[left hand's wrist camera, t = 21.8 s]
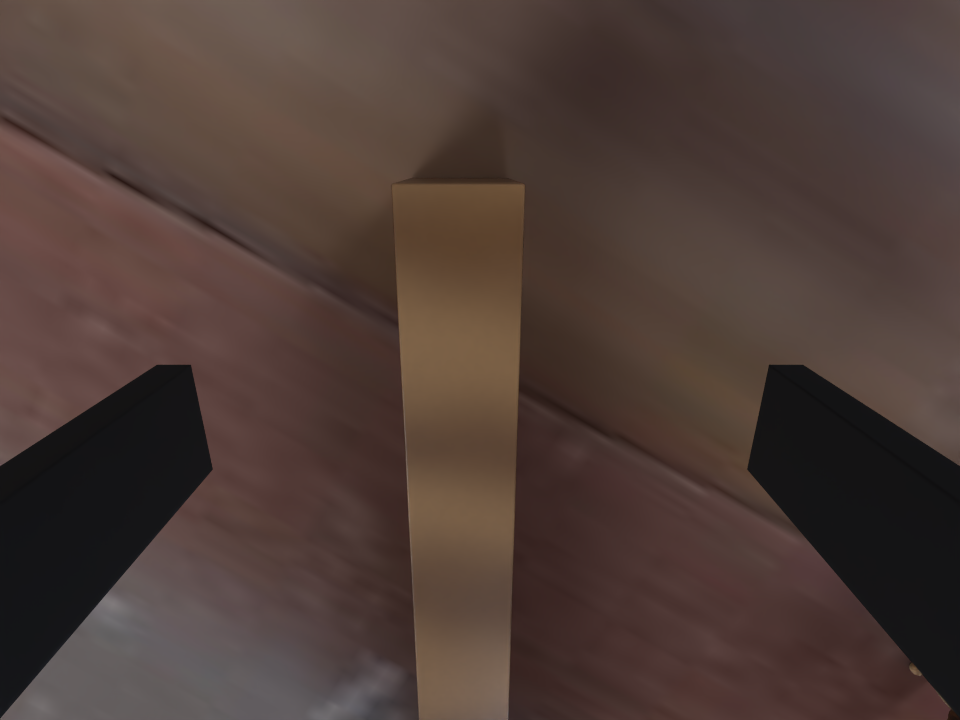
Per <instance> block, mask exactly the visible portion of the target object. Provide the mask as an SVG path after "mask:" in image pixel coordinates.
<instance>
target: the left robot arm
mask: <svg viewBox="0 0 960 720" xmlns="http://www.w3.org/2000/svg"><path fill="white" fill-rule="evenodd" d="M212 470H213V469H212V464H211V459H210V454H209V449H208V445H207V440H206V435H205V430H204V426H203V421H202V416H201V411H200V406H199V402H198V397H197V392H196V387H195V383H194V378H193V373H192V368H191V365H156V366H155V367H153V368H151V369H150V370H148V371H147V372H145V373H144V374H142V375H141V376H139V377H138V378H136V379H134V380H133V381H131V382H130V383H128V384H127V385H125V386H124V387H122V388H121V389H119V390H117V391H116V392H114V393H113V394H111V395H110V396H108V397H107V398H105V399H103V400H102V401H100V402H99V403H97V404H96V405H94V406H93V407H91V408H90V409H88V410H86V411H85V412H83V413H82V414H80V415H79V416H77V417H76V418H74V419H73V420H71V421H69V422H68V423H66V424H65V425H63V426H62V427H60V428H59V429H57V430H56V431H54V432H52V433H51V434H49V435H48V436H46V437H45V438H43V439H42V440H40V441H38V442H37V443H35V444H34V445H32V446H31V447H29V448H28V449H26V450H25V451H23V452H21V453H20V454H18V455H17V456H15V457H14V458H12V459H11V460H9V461H8V462H6V463H4V464H3V465H1V466H0V718H1V717H2V716H3V714H4V713H5V712H6V711H7V710H8V709H9V707H10V706H11V705H12V704H13V703H14V702H15V700H16V699H17V698H18V697H19V696H20V695H21V693H22V692H23V691H24V690H25V689H26V688H27V686H28V685H29V684H30V683H31V682H32V680H33V679H34V678H35V677H36V676H37V675H38V673H39V672H40V671H41V670H42V669H43V668H44V666H45V665H46V664H47V663H48V662H49V661H50V659H51V658H52V657H53V656H54V655H55V654H56V652H57V651H58V650H59V649H60V648H61V647H62V645H63V644H64V643H65V642H66V641H67V639H68V638H69V637H70V636H71V635H72V634H73V632H74V631H75V630H76V629H77V628H78V627H79V625H80V624H81V623H82V622H83V621H84V620H85V618H86V617H87V616H88V615H89V614H90V613H91V611H92V610H93V609H94V608H95V607H96V606H97V604H98V603H99V602H100V601H101V600H102V598H103V597H104V596H105V595H106V594H107V593H108V591H109V590H110V589H111V588H112V587H113V586H114V584H115V583H116V582H117V581H118V580H119V579H120V577H121V576H122V575H123V574H124V573H125V572H126V570H127V569H128V568H129V567H130V566H131V565H132V563H133V562H134V561H135V560H136V559H137V557H138V556H139V555H140V554H141V553H142V552H143V550H144V549H145V548H146V547H147V546H148V545H149V543H150V542H151V541H152V540H153V539H154V538H155V536H156V535H157V534H158V533H159V532H160V531H161V529H162V528H163V527H164V526H165V525H166V523H167V522H168V521H169V520H170V519H171V518H172V516H173V515H174V514H175V513H176V512H177V511H178V509H179V508H180V507H181V506H182V505H183V504H184V502H185V501H186V500H187V499H188V498H189V497H190V495H191V494H192V493H193V492H194V491H195V490H196V488H197V487H198V486H199V485H200V484H201V482H202V481H203V480H204V479H205V478H206V477H207V475H208V474H209V473H210V472H211V471H212ZM747 470H748V471H749V472H750V473H751V474H752V475H753V477H754V478H755V479H756V480H757V481H758V482H759V484H760V485H761V486H762V487H763V488H764V490H765V491H766V492H767V493H768V494H769V495H770V497H771V498H772V499H773V500H774V501H775V502H776V504H777V505H778V506H779V507H780V508H781V509H782V511H783V512H784V513H785V514H786V515H787V516H788V518H789V519H790V520H791V521H792V522H793V523H794V525H795V526H796V527H797V528H798V529H799V531H800V532H801V533H802V534H803V535H804V536H805V538H806V539H807V540H808V541H809V542H810V543H811V545H812V546H813V547H814V548H815V549H816V550H817V552H818V553H819V554H820V555H821V556H822V557H823V559H824V560H825V561H826V562H827V563H828V564H829V566H830V567H831V568H832V569H833V570H834V572H835V573H836V574H837V575H838V576H839V577H840V579H841V580H842V581H843V582H844V583H845V584H846V586H847V587H848V588H849V589H850V590H851V591H852V593H853V594H854V595H855V596H856V597H857V598H858V600H859V601H860V602H861V603H862V604H863V606H864V607H865V608H866V609H867V610H868V611H869V613H870V614H871V615H872V616H873V617H874V618H875V620H876V621H877V622H878V623H879V624H880V625H881V627H882V628H883V629H884V630H885V631H886V632H887V634H888V635H889V636H890V637H891V638H892V639H893V641H894V642H895V643H896V644H897V645H898V647H899V648H900V649H901V650H902V651H903V652H904V654H905V655H906V656H907V657H908V658H909V659H910V661H911V662H912V663H913V664H914V665H915V666H916V668H917V669H918V670H919V671H920V672H921V673H922V675H923V676H924V677H925V678H926V679H927V680H928V682H929V683H930V684H931V685H932V686H933V688H934V689H935V690H936V691H937V692H938V693H939V695H940V696H941V697H942V698H943V699H944V700H945V702H946V703H947V704H948V705H949V706H950V707H951V709H952V710H953V711H954V712H955V713H956V714H957V716H958V717H959V718H960V466H959V465H957V464H956V463H954V462H952V461H951V460H949V459H948V458H946V457H945V456H943V455H942V454H940V453H939V452H937V451H935V450H934V449H932V448H931V447H929V446H928V445H926V444H925V443H923V442H922V441H920V440H918V439H917V438H915V437H914V436H912V435H911V434H909V433H908V432H906V431H904V430H903V429H901V428H900V427H898V426H897V425H895V424H894V423H892V422H891V421H889V420H887V419H886V418H884V417H883V416H881V415H880V414H878V413H877V412H875V411H874V410H872V409H870V408H869V407H867V406H866V405H864V404H863V403H861V402H860V401H858V400H857V399H855V398H853V397H852V396H850V395H849V394H847V393H846V392H844V391H843V390H841V389H839V388H838V387H836V386H835V385H833V384H832V383H830V382H829V381H827V380H826V379H824V378H822V377H821V376H819V375H818V374H816V373H815V372H813V371H812V370H810V369H809V368H807V367H805V366H804V365H769V368H768V373H767V378H766V383H765V387H764V392H763V397H762V402H761V406H760V411H759V416H758V421H757V426H756V430H755V435H754V440H753V445H752V449H751V454H750V459H749V464H748V469H747Z"/></svg>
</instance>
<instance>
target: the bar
mask: <svg viewBox="0 0 960 720" xmlns="http://www.w3.org/2000/svg"><path fill="white" fill-rule="evenodd" d="M391 187H392V206H393V225H394V245H395V264H396V284H397V303H398V322H399V342H400V361H401V380H402V400H403V419H404V439H405V458H406V477H407V497H408V516H409V536H410V555H411V574H412V594H413V613H414V632H415V652H416V671H417V691H418V710H419V720H508V713H509V681H510V649H511V617H512V586H513V554H514V522H515V490H516V459H517V427H518V395H519V363H520V332H521V300H522V268H523V236H524V205H525V184H522V183H520V182H517V181H514V180H511V179H508V178H410V179H407V180H403V181H400V182H396V183H393V184H392V185H391Z"/></svg>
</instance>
